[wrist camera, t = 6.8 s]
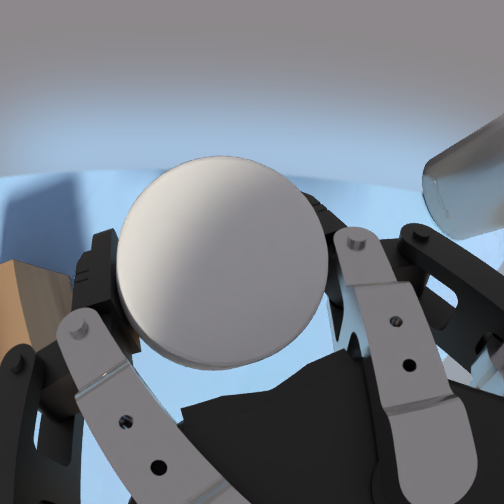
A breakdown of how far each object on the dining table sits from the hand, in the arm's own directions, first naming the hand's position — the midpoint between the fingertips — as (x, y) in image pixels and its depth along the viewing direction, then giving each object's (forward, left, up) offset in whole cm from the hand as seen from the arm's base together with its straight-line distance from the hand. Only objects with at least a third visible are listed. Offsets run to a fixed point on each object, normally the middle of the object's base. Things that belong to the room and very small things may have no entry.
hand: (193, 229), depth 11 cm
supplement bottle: (0, +2, -5) cm, 5 cm away
